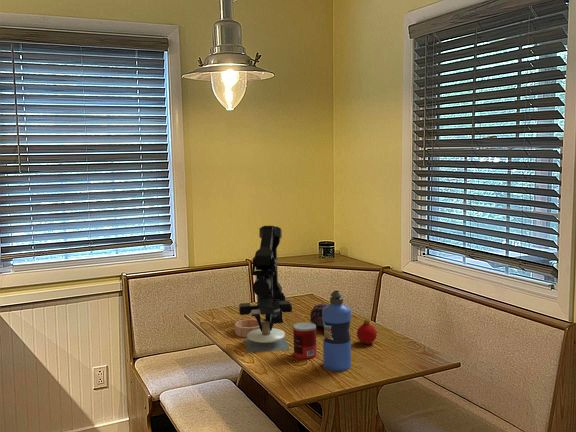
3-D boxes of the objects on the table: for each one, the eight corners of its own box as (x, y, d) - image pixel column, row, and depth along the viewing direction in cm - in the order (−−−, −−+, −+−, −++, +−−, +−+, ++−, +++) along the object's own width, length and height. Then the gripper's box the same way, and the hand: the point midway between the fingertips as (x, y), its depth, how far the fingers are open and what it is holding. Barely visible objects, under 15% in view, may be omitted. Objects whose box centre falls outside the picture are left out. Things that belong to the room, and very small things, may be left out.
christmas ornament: (371, 338, 218) (371, 312, 217) (380, 345, 212) (380, 318, 210) (353, 341, 216) (353, 314, 215) (362, 347, 210) (361, 320, 208)
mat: (284, 336, 223) (284, 335, 223) (289, 350, 208) (289, 349, 208) (244, 339, 221) (244, 338, 221) (247, 353, 206) (247, 352, 206)
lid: (282, 329, 221) (282, 315, 221) (287, 341, 208) (287, 326, 207) (246, 331, 220) (245, 317, 219) (248, 343, 206) (248, 329, 205)
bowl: (263, 327, 234) (262, 318, 233) (265, 337, 222) (265, 327, 222) (234, 329, 232) (234, 319, 232) (236, 339, 221) (235, 329, 220)
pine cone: (344, 334, 224) (344, 308, 223) (320, 337, 221) (320, 311, 220) (327, 320, 241) (327, 297, 240) (304, 323, 238) (304, 299, 237)
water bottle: (331, 373, 187) (330, 296, 184) (318, 363, 196) (316, 289, 193) (356, 368, 191) (356, 292, 188) (342, 358, 199) (342, 286, 196)
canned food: (319, 353, 205) (318, 323, 203) (312, 362, 197) (312, 330, 196) (298, 351, 207) (297, 321, 206) (290, 359, 200) (290, 328, 198)
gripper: (239, 295, 202) (241, 339, 204) (293, 292, 205) (294, 336, 207) (238, 287, 213) (239, 329, 215) (289, 285, 216) (290, 326, 218)
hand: (266, 330), depth 214 cm, fingers closed on lid, 3 cm apart
